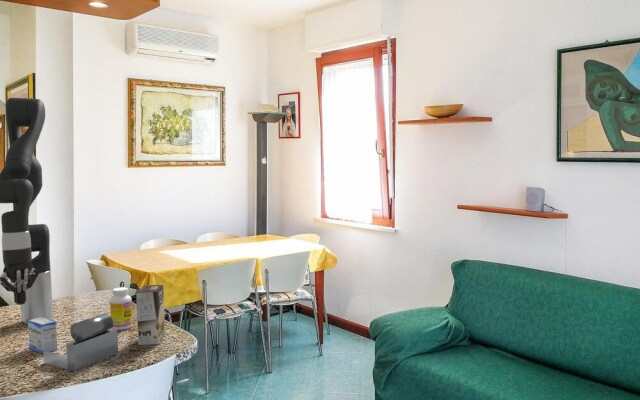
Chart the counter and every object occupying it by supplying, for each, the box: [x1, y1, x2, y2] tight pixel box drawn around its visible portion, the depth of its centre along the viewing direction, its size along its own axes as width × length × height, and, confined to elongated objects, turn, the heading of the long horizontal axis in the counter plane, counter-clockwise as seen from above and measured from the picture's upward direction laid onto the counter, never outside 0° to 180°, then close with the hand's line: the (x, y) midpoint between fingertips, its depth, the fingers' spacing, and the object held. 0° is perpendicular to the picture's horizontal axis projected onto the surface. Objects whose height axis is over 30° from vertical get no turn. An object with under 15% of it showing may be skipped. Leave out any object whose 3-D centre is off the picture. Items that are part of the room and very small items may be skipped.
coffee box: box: [135, 284, 166, 346], centre depth 169 cm, size 9×6×16 cm
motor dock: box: [42, 312, 119, 372], centre depth 155 cm, size 14×14×12 cm
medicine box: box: [27, 317, 58, 354], centre depth 163 cm, size 8×4×9 cm, turn 55°
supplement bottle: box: [109, 286, 133, 331], centre depth 182 cm, size 7×7×13 cm
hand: (20, 304), depth 166 cm, fingers closed
